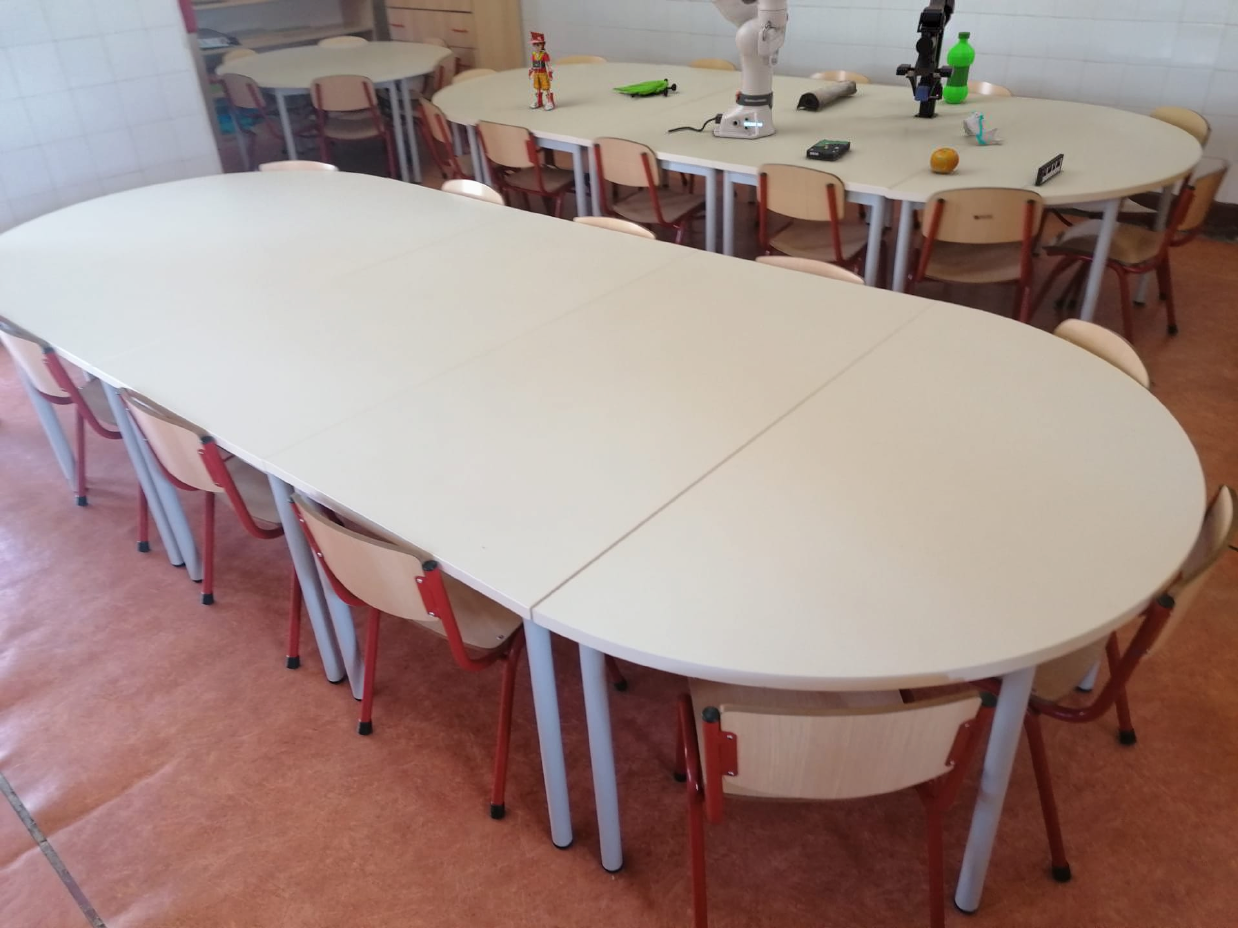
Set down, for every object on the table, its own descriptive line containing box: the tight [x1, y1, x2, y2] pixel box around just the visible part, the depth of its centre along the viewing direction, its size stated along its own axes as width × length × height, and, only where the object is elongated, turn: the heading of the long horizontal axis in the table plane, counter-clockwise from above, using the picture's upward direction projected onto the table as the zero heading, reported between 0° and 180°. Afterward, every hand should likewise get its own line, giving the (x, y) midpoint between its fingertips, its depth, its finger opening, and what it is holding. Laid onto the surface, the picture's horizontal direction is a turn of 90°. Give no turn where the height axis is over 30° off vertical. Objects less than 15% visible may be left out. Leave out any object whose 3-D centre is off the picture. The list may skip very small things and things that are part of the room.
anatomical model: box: [962, 110, 1003, 146], centre depth 309 cm, size 15×10×10 cm
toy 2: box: [612, 78, 677, 99], centre depth 396 cm, size 28×5×30 cm
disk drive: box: [805, 138, 851, 161], centre depth 306 cm, size 10×3×15 cm
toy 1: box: [527, 31, 556, 111], centre depth 374 cm, size 12×9×30 cm
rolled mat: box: [796, 79, 858, 112], centre depth 363 cm, size 30×9×10 cm
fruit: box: [929, 147, 960, 174], centre depth 283 cm, size 8×8×8 cm
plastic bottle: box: [942, 31, 976, 104], centre depth 348 cm, size 10×10×25 cm
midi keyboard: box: [1035, 153, 1065, 186], centre depth 273 cm, size 18×1×5 cm, turn 138°
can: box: [914, 85, 930, 102], centre depth 317 cm, size 5×5×4 cm
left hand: (770, 67), depth 282 cm, fingers open, 8 cm apart
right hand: (921, 96), depth 318 cm, fingers closed on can, 5 cm apart
